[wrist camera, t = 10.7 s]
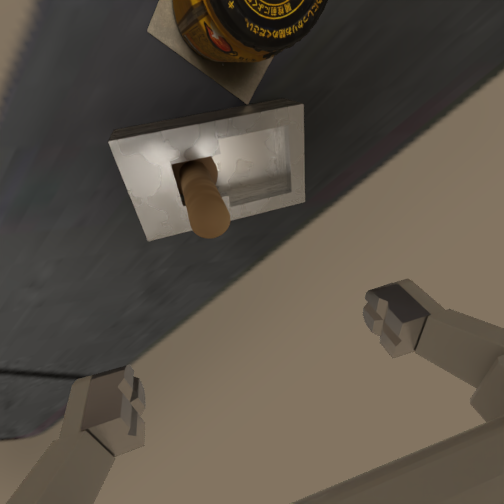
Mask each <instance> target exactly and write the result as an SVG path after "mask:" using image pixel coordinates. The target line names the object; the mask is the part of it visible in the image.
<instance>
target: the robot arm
mask: <svg viewBox="0 0 504 504" xmlns="http://www.w3.org/2000/svg"><path fill="white" fill-rule="evenodd" d="M365 299H366V300H367V301H368V303H367V304H366V305H365V306H364V308H363V316H364V320H365V323H366V325H367V326H368V328H369V329H370V330H371V332H372V333H374V334H376V335H378V336H380V343H381V345H382V346H383V347H384V348H385V350H386V351H387V352H388V353H389V355H391V357H392V358H396V357H399V356H402V355H405V354H408V353H411V352H414V351H415V353H416V354H418V355H420V356H422V357H423V358H425V359H427V360H428V361H430V362H432V363H434V364H435V365H437V366H439V367H441V368H442V369H444V370H446V371H447V372H450V373H451V374H453V375H454V376H456V377H458V378H460V379H461V380H463V381H465V382H467V383H468V384H470V385H472V386H473V387H475V388H477V389H476V391H475V392H474V394H473V395H472V397H471V398H470V404H471V405H472V406H473V408H474V409H475V410H476V411H477V412H478V413H479V414H480V415H481V416H482V418H483V419H484V420H485V421H486V423H484V424H481V425H479V426H476V427H474V428H472V429H469V430H467V431H464V432H462V433H459V434H457V435H455V436H452V437H450V438H447V439H445V440H443V441H440V442H438V443H435V444H433V445H430V446H428V447H426V448H423V449H421V450H419V451H416V452H414V453H411V454H409V455H406V456H404V457H401V458H399V459H397V460H394V461H392V462H389V463H387V464H385V465H382V466H380V467H377V468H375V469H372V470H370V471H368V472H365V473H363V474H360V475H358V476H356V477H353V478H351V479H348V480H346V481H343V482H341V483H339V484H336V485H334V486H331V487H329V488H327V489H324V490H322V491H319V492H317V493H315V494H312V495H310V496H307V497H305V498H303V499H300V500H298V501H296V502H293V503H290V504H504V328H501V327H498V326H496V325H493V324H490V323H487V322H485V321H482V320H479V319H476V318H473V317H471V316H468V315H465V314H462V313H460V312H457V311H454V310H451V309H448V310H445V309H444V308H443V307H442V306H441V305H439V304H438V303H437V302H436V301H435V300H434V299H432V298H431V297H430V296H429V295H428V294H427V293H425V292H424V291H423V290H422V289H421V288H420V287H419V286H418V285H416V284H415V283H414V282H413V281H411V280H409V279H405V280H401V281H398V282H395V283H390V284H387V285H384V286H381V287H378V288H375V289H372V290H369V291H368V292H367V293H366V296H365ZM133 375H134V370H133V369H132V367H131V366H130V365H126V366H123V367H119V368H115V369H112V370H108V371H105V372H101V373H98V374H94V375H91V376H87V377H84V378H81V379H77V380H76V381H75V382H74V384H73V385H72V388H71V392H70V396H69V400H68V404H67V408H66V412H65V416H64V420H63V424H62V428H61V432H60V436H59V439H58V440H55V441H53V442H52V443H51V445H50V446H49V447H48V449H47V450H46V451H45V452H44V454H43V455H42V456H41V458H40V459H39V460H38V462H37V463H36V464H35V466H34V467H33V468H32V470H31V471H30V472H29V474H28V475H27V476H26V477H25V479H24V480H23V481H22V483H21V484H20V485H19V487H18V488H17V489H16V491H15V492H14V493H13V495H12V496H11V498H10V499H9V500H8V501H7V503H6V504H93V503H94V501H95V499H96V497H97V495H98V493H99V491H100V489H101V487H102V485H103V483H104V481H105V479H106V477H107V475H108V473H109V471H110V468H111V467H112V465H113V463H114V461H115V457H116V456H119V455H121V454H124V453H126V452H129V451H132V450H135V449H137V448H140V447H142V446H144V440H145V439H144V438H145V422H144V421H143V419H142V418H141V414H142V413H143V411H144V409H145V393H144V388H143V385H142V383H141V381H140V379H139V378H136V377H134V376H133Z"/></svg>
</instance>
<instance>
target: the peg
mask: <svg viewBox="0 0 504 504" xmlns="http://www.w3.org/2000/svg"><path fill="white" fill-rule="evenodd" d="M171 166H172V169H173V173H174V176H175V179H176V183H177V186H178V190H179V193H180V194H181V195H184V200H185V204H186V208H187V213H188V217H189V221H190V225H191V228H192V230H193V231H194V232H195V233H196V234H197V235H198V236H200V237H203V238H215V237H218V236H220V235H222V234H223V233H224V232H225V231H226V230H227V229H228V227H229V224H230V213H229V211H228V209H227V207H226V205H225V203H224V201H223V199H222V197H221V195H220V193H219V191H218V189H217V187H216V182H217V178H218V170H217V166H216V164H215V162H214V160H213V159H212V157H211V156H208V157H204V158H199V159H194V160H189V161H185V162H180V163H175V164H171Z"/></svg>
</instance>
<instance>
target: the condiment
mask: <svg viewBox="0 0 504 504" xmlns="http://www.w3.org/2000/svg"><path fill="white" fill-rule="evenodd" d="M327 1H328V0H159V2H158V5H157V7H156V10H155V12H154V15H153V17H152V20H151V22H150V25H149V27H148V30H147V31H148V32H149V33H150V34H152V35H153V36H154V37H156V38H157V39H158V40H160V41H161V42H163V43H164V44H165V45H167V46H168V47H169V48H171V49H172V50H173V51H175V52H176V53H178V54H179V55H180V56H182V57H183V58H184V59H186V60H187V61H188V62H190V63H191V64H193V65H194V66H195V67H197V68H198V69H199V70H201V71H202V72H203V73H205V74H206V75H208V76H209V77H210V78H212V79H213V80H215V81H216V82H217V83H218V84H220V85H221V86H223V87H224V88H225V89H227V90H228V91H229V92H231V93H232V94H234V95H235V96H236V97H238V98H239V99H240V100H242V101H243V102H244V103H246V104H247V105H248V103H249V101H250V100H251V98H252V96H253V94H254V92H255V90H256V88H257V86H258V84H259V82H260V81H261V79H262V77H263V75H264V73H265V71H266V69H267V68H268V66H269V64H270V62H271V61H272V59H273V57H274V56H275V55H277V54H278V53H280V52H281V51H282V50H284V49H285V48H290V47H292V46H293V45H294V44H295V43H296V42H298V41H300V40H301V39H302V38H303V37H304V36H306V35H307V34H308V33H309V32H310V30H311V28H313V26H314V25H315V24H316V22H317V20H318V19H319V17H320V15H321V14H322V12H323V10H324V8H325V6H326V3H327ZM222 63H223V64H224V66H223V65H222Z"/></svg>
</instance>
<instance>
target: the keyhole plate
mask: <svg viewBox="0 0 504 504" xmlns="http://www.w3.org/2000/svg"><path fill="white" fill-rule="evenodd" d="M108 143H109V145H110V148H111V150H112V153H113V155H114V158H115V160H116V163H117V165H118V168H119V170H120V173H121V175H122V178H123V180H124V183H125V185H126V188H127V190H128V193H129V195H130V198H131V200H132V203H133V205H134V208H135V210H136V212H137V215H138V217H139V220H140V222H141V225H142V227H143V230H144V232H145V235H146V237H147V240H148V241H152V240H156V239H160V238H164V237H168V236H172V235H176V234H180V233H184V232H187V231H191V230H192V228H191V225H190V221H189V217H188V213H187V208H186V204H185V200H184V195H181V194H180V193H179V190H178V186H177V183H176V179H175V176H174V173H173V169H172V166H171V164H175V163H180V162H185V161H189V160H194V159H199V158H204V157H208V156H211V157H212V159H213V160H214V162H215V164H216V166H217V170H218V178H217V182H216V187H217V189H218V191H219V193H220V195H221V197H222V199H223V201H224V203H225V205H226V207H227V209H228V211H229V213H230V221H231V220H235V219H239V218H243V217H247V216H251V215H255V214H259V213H263V212H267V211H271V210H275V209H279V208H283V207H287V206H291V205H295V204H299V203H303V202H305V160H304V104H302V103H299V102H296V101H292V100H289V99H285V98H281V99H276V100H270V101H265V102H259V103H254V104H249V105H243V106H238V107H233V108H227V109H222V110H217V111H211V112H206V113H200V114H195V115H190V116H184V117H179V118H174V119H168V120H163V121H158V122H152V123H147V124H141V125H136V126H131V127H125V128H120V129H115V130H114V131H113V133H112V135H111V137H110V138H109V140H108Z"/></svg>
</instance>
